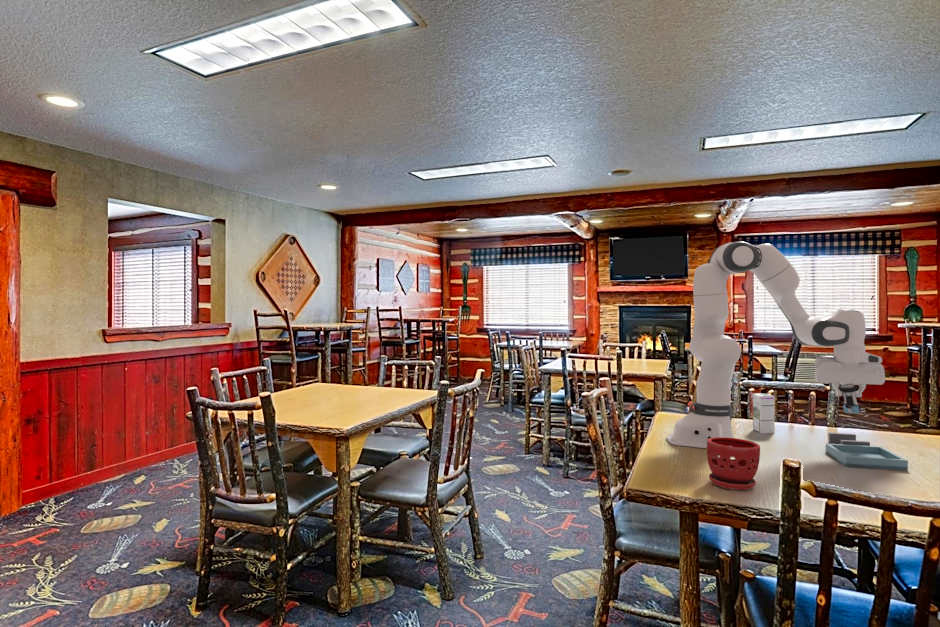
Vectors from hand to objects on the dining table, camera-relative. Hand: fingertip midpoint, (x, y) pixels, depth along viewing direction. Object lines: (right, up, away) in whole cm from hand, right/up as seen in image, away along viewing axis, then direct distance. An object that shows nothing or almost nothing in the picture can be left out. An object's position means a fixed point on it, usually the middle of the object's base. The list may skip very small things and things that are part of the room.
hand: (848, 396), depth 185 cm
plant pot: (-58, -19, -37) cm, 72 cm away
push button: (+2, -6, 0) cm, 6 cm away
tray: (-6, -18, -16) cm, 25 cm away
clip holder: (0, -18, 0) cm, 18 cm away
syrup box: (-17, -17, +23) cm, 33 cm away
